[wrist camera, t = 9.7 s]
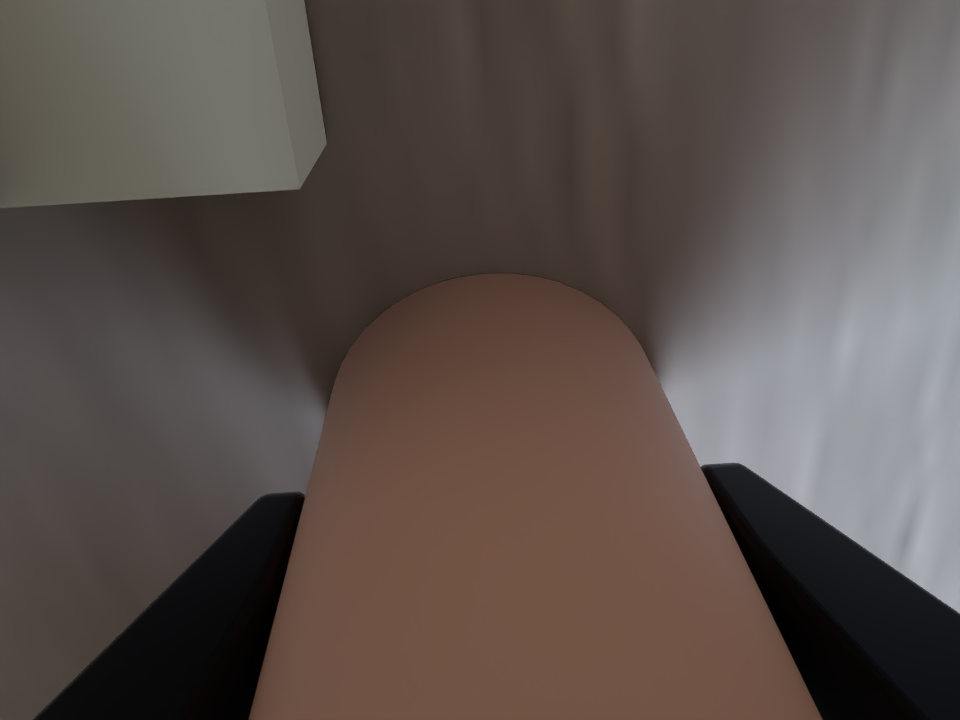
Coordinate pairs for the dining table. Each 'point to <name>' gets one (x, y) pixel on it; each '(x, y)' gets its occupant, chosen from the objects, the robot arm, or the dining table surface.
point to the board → (154, 99)
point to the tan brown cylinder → (514, 532)
